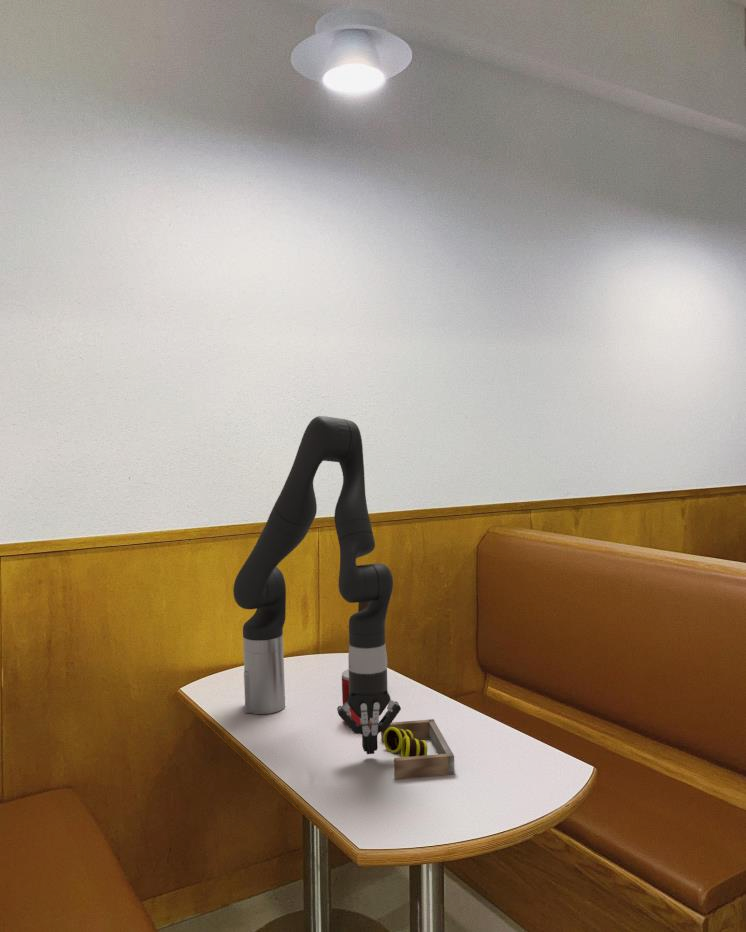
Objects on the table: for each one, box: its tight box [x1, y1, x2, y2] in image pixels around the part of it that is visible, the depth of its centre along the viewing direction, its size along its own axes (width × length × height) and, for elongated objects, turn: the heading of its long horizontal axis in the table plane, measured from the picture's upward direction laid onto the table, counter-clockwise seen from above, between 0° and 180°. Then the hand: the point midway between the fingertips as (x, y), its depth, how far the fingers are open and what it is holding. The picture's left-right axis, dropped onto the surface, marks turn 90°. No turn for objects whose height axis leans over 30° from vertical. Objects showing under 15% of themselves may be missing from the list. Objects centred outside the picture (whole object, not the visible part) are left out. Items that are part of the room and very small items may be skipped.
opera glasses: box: [383, 727, 428, 758], centre depth 156 cm, size 10×5×5 cm, turn 28°
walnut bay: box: [380, 718, 456, 780], centre depth 155 cm, size 11×18×4 cm, turn 8°
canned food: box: [341, 668, 370, 728], centre depth 173 cm, size 8×8×11 cm
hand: (369, 752), depth 154 cm, fingers closed
